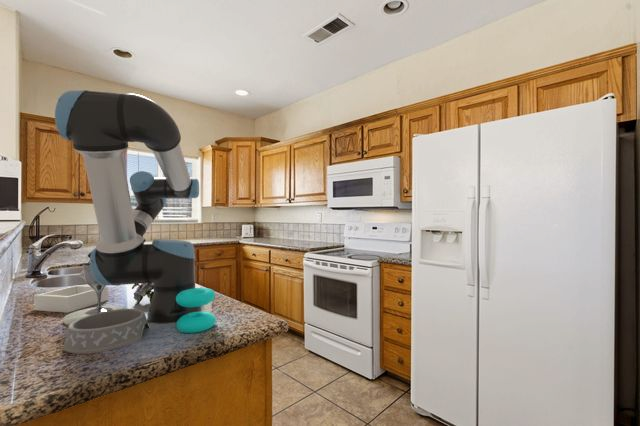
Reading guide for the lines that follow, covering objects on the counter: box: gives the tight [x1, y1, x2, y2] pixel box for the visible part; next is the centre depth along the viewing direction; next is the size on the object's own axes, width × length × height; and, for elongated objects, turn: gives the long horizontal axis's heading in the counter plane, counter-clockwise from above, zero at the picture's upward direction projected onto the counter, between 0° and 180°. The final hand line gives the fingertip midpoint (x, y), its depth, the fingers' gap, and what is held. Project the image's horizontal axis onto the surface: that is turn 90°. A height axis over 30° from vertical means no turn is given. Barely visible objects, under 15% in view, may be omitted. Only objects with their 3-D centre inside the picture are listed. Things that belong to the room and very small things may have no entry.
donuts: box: [175, 287, 216, 334], centre depth 86 cm, size 10×10×10 cm
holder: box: [33, 284, 109, 314], centre depth 110 cm, size 14×14×5 cm
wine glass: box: [82, 262, 113, 314], centre depth 98 cm, size 8×8×15 cm
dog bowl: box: [62, 308, 150, 355], centre depth 80 cm, size 17×18×5 cm
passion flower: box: [131, 283, 154, 306], centre depth 110 cm, size 11×11×12 cm
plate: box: [62, 305, 125, 326], centre depth 96 cm, size 15×15×1 cm
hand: (97, 278), depth 98 cm, fingers open, 11 cm apart
